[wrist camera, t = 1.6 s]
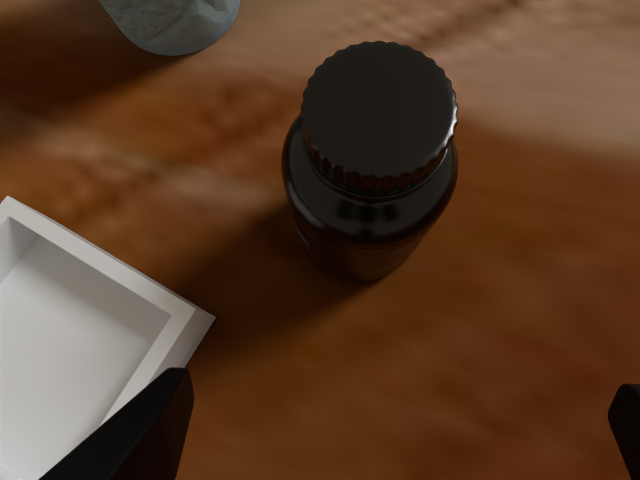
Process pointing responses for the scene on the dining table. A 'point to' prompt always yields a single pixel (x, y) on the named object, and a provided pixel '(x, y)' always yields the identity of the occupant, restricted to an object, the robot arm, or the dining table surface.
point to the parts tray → (75, 338)
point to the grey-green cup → (172, 23)
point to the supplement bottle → (370, 159)
